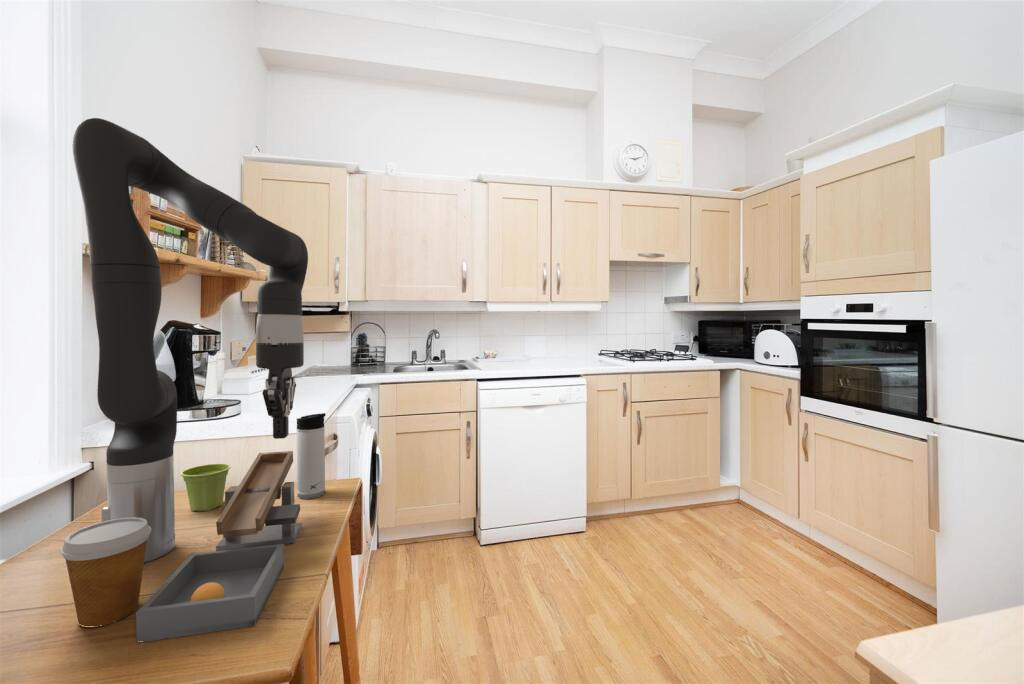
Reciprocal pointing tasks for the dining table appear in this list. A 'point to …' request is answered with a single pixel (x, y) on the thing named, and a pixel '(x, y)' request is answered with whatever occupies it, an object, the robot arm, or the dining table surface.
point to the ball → (208, 592)
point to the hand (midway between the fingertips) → (280, 437)
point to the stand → (268, 533)
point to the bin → (245, 597)
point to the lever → (259, 498)
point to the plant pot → (205, 485)
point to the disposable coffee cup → (106, 568)
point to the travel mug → (310, 456)
